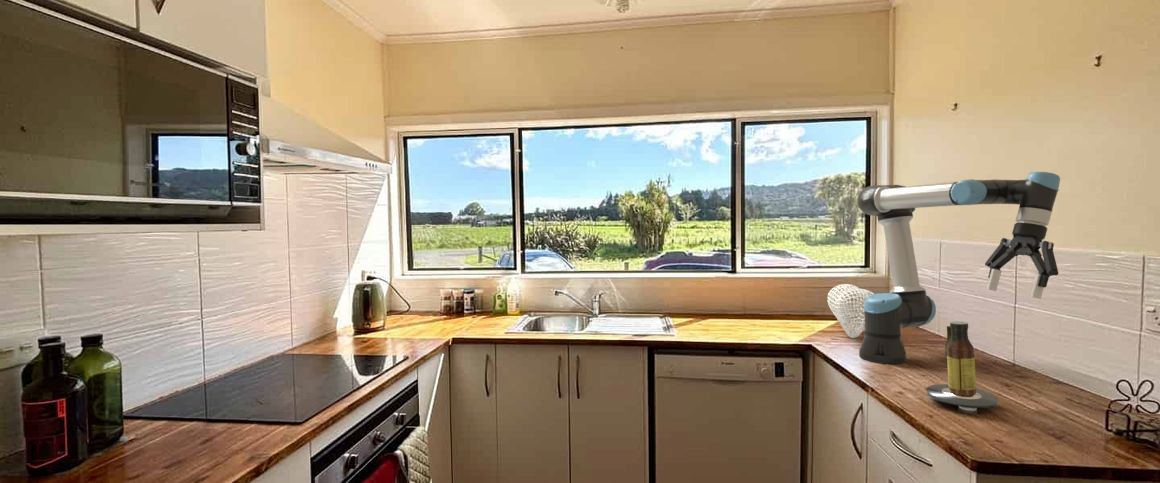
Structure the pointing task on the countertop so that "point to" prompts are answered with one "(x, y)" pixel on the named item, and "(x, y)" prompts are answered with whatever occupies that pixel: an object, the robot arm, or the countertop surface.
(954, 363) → the sauce bottle
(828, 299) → the heart
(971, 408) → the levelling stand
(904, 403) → the countertop surface
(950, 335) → the fennel bulb
